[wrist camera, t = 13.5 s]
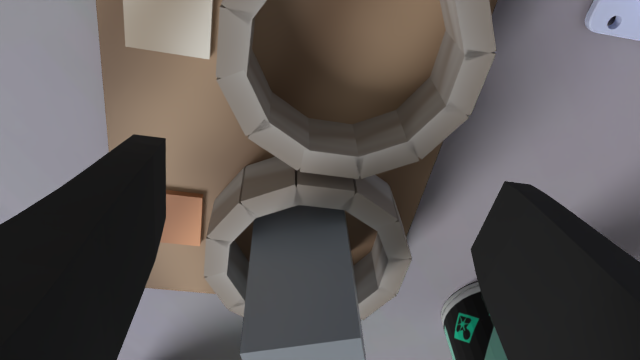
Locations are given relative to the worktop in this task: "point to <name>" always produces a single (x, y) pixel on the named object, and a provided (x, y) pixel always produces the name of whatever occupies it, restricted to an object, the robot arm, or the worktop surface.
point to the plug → (301, 288)
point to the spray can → (470, 327)
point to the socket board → (299, 69)
